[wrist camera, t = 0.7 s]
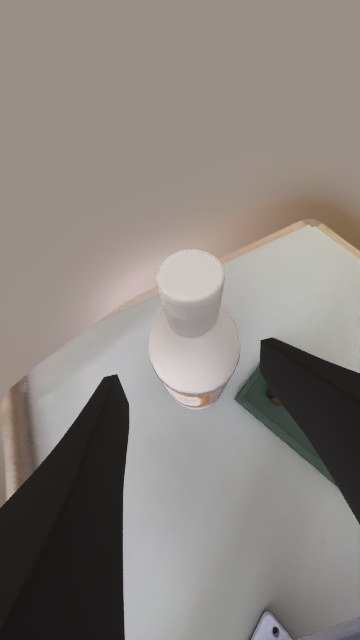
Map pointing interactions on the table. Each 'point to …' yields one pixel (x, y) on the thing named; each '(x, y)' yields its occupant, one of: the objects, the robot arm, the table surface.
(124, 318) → the table surface
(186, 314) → the bath foam
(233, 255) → the table surface
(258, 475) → the table surface
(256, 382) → the brush tray
